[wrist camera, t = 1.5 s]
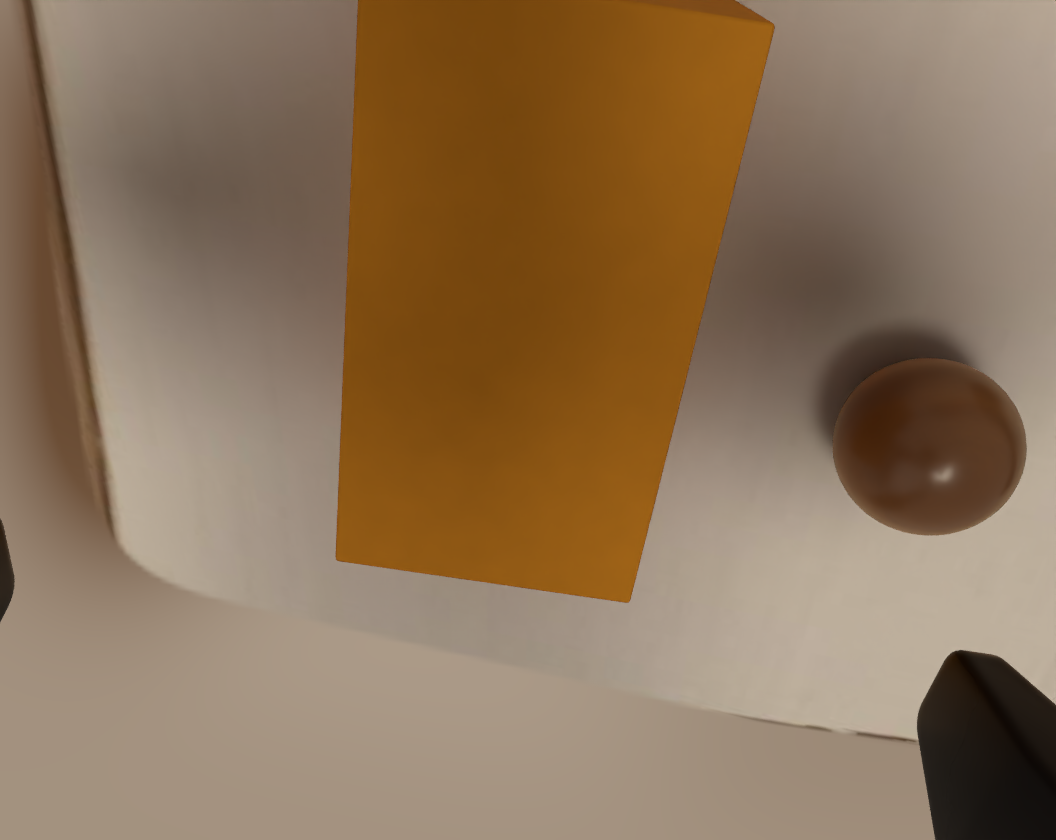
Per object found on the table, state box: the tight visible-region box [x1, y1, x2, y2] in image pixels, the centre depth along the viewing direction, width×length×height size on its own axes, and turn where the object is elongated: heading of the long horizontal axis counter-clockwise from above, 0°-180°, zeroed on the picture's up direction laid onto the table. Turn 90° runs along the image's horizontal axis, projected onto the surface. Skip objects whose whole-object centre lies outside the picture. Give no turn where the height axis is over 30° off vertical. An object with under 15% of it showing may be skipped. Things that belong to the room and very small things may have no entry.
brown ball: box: [833, 358, 1027, 536], centre depth 18 cm, size 4×4×4 cm
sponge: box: [336, 0, 775, 603], centre depth 16 cm, size 10×6×5 cm, turn 172°
